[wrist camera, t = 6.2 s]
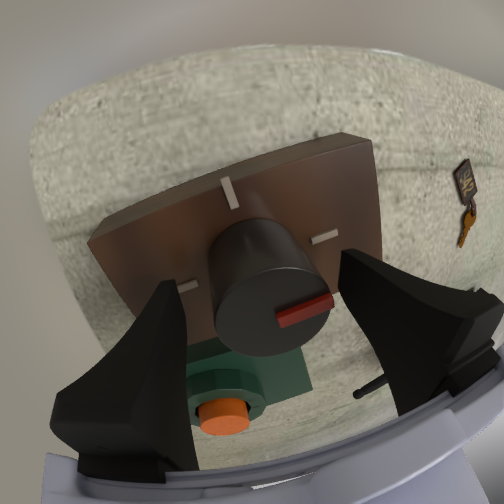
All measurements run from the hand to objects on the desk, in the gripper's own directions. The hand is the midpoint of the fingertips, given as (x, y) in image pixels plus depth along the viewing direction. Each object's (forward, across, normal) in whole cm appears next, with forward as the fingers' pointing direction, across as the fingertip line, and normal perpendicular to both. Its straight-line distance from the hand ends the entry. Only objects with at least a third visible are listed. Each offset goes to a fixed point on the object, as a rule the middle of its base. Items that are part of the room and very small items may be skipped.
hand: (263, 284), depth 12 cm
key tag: (+5, -18, 0) cm, 19 cm away
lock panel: (+5, 0, 0) cm, 5 cm away
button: (+1, +4, +12) cm, 13 cm away
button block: (+5, +2, +12) cm, 13 cm away
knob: (+2, 0, 0) cm, 2 cm away
